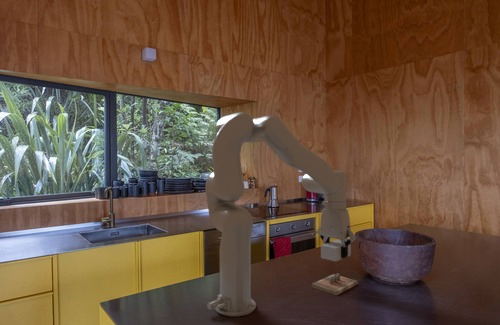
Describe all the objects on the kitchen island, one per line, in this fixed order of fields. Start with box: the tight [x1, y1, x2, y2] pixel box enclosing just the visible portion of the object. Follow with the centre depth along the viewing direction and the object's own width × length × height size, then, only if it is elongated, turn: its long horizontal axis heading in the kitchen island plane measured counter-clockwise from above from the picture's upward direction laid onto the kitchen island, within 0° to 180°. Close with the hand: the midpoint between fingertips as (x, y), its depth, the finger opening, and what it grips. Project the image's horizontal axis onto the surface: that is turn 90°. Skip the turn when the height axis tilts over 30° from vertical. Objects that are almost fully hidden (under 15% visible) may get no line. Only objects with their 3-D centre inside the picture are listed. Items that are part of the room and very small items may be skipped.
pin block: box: [311, 272, 359, 296], centre depth 124 cm, size 14×10×4 cm
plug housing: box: [320, 239, 352, 262], centre depth 124 cm, size 10×6×4 cm, turn 134°
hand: (336, 254), depth 124 cm, fingers closed on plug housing, 6 cm apart
